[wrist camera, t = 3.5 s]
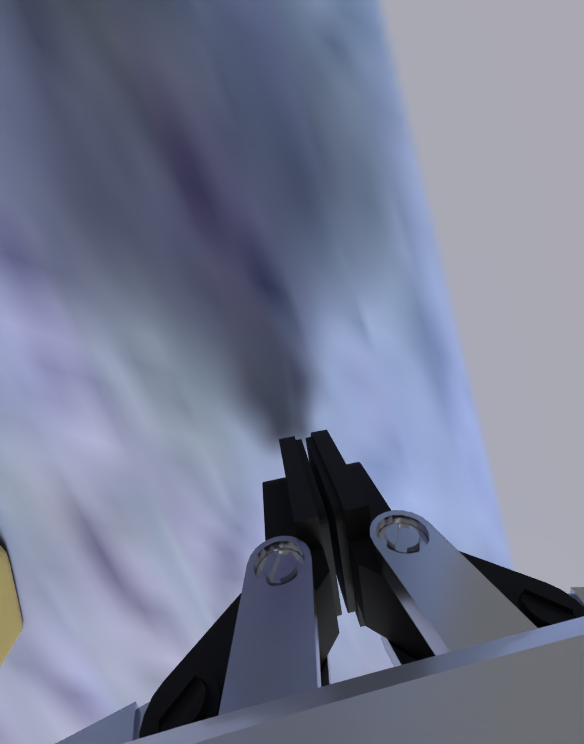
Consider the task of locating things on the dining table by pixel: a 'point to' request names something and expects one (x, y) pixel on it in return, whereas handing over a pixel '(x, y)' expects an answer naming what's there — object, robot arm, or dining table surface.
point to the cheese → (8, 608)
